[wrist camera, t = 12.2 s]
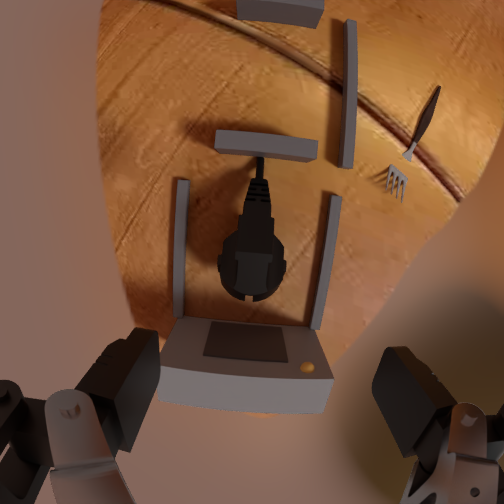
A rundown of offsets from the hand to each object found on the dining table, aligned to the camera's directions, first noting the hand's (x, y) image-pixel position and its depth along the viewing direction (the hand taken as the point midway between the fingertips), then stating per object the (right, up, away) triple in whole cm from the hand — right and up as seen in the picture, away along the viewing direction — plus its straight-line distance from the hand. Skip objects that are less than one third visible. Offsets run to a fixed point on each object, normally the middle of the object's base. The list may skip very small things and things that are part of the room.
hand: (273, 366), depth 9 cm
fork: (+17, +16, +16) cm, 28 cm away
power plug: (0, +7, +18) cm, 19 cm away
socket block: (-1, +1, +18) cm, 18 cm away
